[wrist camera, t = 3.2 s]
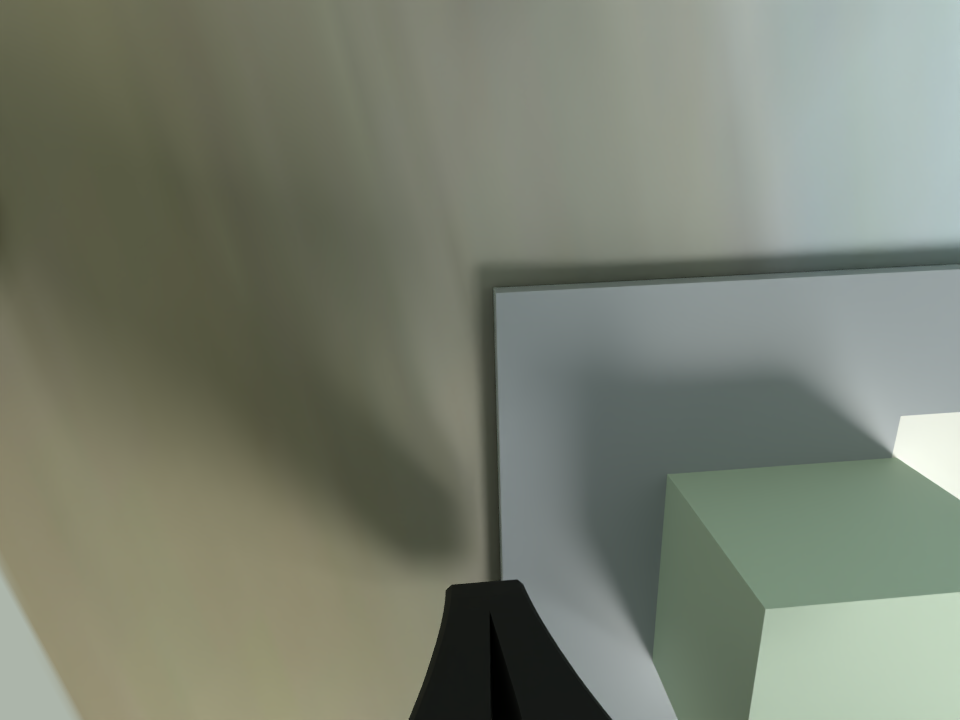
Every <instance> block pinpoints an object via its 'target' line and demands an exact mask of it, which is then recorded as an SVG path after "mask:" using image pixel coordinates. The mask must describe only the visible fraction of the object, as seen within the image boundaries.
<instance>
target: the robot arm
mask: <svg viewBox="0 0 960 720" xmlns="http://www.w3.org/2000/svg"><path fill="white" fill-rule="evenodd" d="M409 720H612V718H611V717H610V716H609V715H608V714H607V712H606V711H605V710H604V709H603V707H602V706H601V705H600V703H599V702H598V701H597V700H596V698H595V697H594V696H593V694H592V693H591V692H590V691H589V689H588V688H587V687H586V685H585V684H584V683H583V681H582V680H581V678H580V677H579V676H578V674H577V673H576V672H575V670H574V669H573V667H572V666H571V664H570V663H569V661H568V660H567V658H566V657H565V656H564V654H563V653H562V651H561V650H560V648H559V647H558V645H557V644H556V642H555V641H554V639H553V637H552V636H551V634H550V633H549V631H548V629H547V628H546V626H545V624H544V623H543V621H542V619H541V618H540V616H539V614H538V612H537V611H536V609H535V607H534V605H533V603H532V601H531V599H530V597H529V595H528V593H527V591H526V589H525V587H524V584H523V583H521V582H520V581H519V580H518V579H514V580H503V581H491V582H479V583H467V584H455V585H451V586H450V587H449V588H448V589H447V590H446V597H445V606H444V612H443V617H442V622H441V626H440V630H439V634H438V638H437V642H436V645H435V648H434V651H433V655H432V658H431V661H430V664H429V667H428V670H427V673H426V676H425V679H424V682H423V685H422V687H421V690H420V693H419V695H418V698H417V700H416V703H415V705H414V708H413V710H412V713H411V715H410V718H409Z"/></svg>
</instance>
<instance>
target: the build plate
mask: <svg viewBox="0 0 960 720" xmlns="http://www.w3.org/2000/svg"><path fill="white" fill-rule="evenodd" d="M493 292H494V331H495V370H496V408H497V447H498V486H499V525H500V563H501V581H503V580H514V579H518V580H519V581H520V582H521V583H523V584H524V587H525V589H526V591H527V593H528V595H529V597H530V599H531V601H532V603H533V605H534V607H535V609H536V611H537V612H538V614H539V616H540V618H541V619H542V621H543V623H544V624H545V626H546V628H547V629H548V631H549V633H550V634H551V636H552V637H553V639H554V641H555V642H556V644H557V645H558V647H559V648H560V650H561V651H562V653H563V654H564V656H565V657H566V658H567V660H568V661H569V663H570V664H571V666H572V667H573V669H574V670H575V672H576V673H577V674H578V676H579V677H580V678H581V680H582V681H583V683H584V684H585V685H586V687H587V688H588V689H589V691H590V692H591V693H592V694H593V696H594V697H595V698H596V700H597V701H598V702H599V703H600V705H601V706H602V707H603V709H604V710H605V711H606V712H607V714H608V715H609V716H610V717H611V718H612V720H678V719H677V717H676V714H675V712H674V710H673V707H672V705H671V703H670V701H669V698H668V696H667V694H666V691H665V689H664V687H663V685H662V682H661V680H660V678H659V675H658V673H657V671H656V668H655V666H654V664H653V662H652V659H653V646H654V634H655V621H656V609H657V596H658V584H659V571H660V559H661V546H662V534H663V521H664V509H665V496H666V484H667V474H677V473H690V472H704V471H718V470H732V469H745V468H759V467H773V466H787V465H800V464H814V463H828V462H842V461H856V460H869V459H883V458H898V459H899V460H901V461H902V462H904V463H905V464H907V465H908V466H910V467H911V468H913V469H914V470H916V471H917V472H919V473H920V474H922V475H923V476H925V477H926V478H928V479H929V480H931V481H932V482H934V483H935V484H937V485H938V486H940V487H941V488H943V489H944V490H946V491H947V492H949V493H950V494H952V495H953V496H955V497H956V498H958V499H959V500H960V264H951V265H931V266H912V267H892V268H872V269H853V270H833V271H813V272H794V273H774V274H754V275H735V276H715V277H695V278H676V279H656V280H636V281H617V282H597V283H577V284H558V285H538V286H518V287H499V288H493Z"/></svg>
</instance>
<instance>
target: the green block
mask: <svg viewBox="0 0 960 720" xmlns="http://www.w3.org/2000/svg"><path fill="white" fill-rule="evenodd" d="M652 662H653V664H654V666H655V668H656V671H657V673H658V675H659V678H660V680H661V682H662V685H663V687H664V689H665V691H666V694H667V696H668V698H669V701H670V703H671V705H672V707H673V710H674V712H675V714H676V717H677V719H678V720H960V500H959V499H958V498H956V497H955V496H953V495H952V494H950V493H949V492H947V491H946V490H944V489H943V488H941V487H940V486H938V485H937V484H935V483H934V482H932V481H931V480H929V479H928V478H926V477H925V476H923V475H922V474H920V473H919V472H917V471H916V470H914V469H913V468H911V467H910V466H908V465H907V464H905V463H904V462H902V461H901V460H899V459H898V458H883V459H869V460H856V461H842V462H828V463H814V464H800V465H787V466H773V467H759V468H745V469H732V470H718V471H704V472H690V473H677V474H667V484H666V496H665V509H664V521H663V534H662V546H661V559H660V571H659V584H658V596H657V609H656V621H655V634H654V646H653V659H652Z"/></svg>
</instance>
